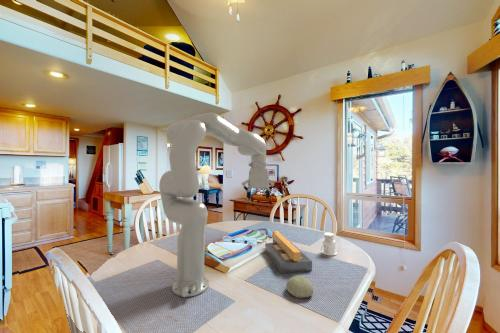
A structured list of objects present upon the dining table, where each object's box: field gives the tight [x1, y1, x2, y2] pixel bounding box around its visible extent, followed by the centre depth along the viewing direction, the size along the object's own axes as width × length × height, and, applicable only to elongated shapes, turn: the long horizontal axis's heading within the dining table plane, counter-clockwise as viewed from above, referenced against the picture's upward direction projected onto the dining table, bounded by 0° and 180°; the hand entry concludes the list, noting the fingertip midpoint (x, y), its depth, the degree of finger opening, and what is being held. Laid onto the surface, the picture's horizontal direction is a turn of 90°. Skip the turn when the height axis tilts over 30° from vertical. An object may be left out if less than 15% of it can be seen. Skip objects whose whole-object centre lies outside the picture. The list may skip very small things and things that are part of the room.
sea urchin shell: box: [285, 275, 314, 299], centre depth 78 cm, size 9×8×8 cm
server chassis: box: [264, 238, 313, 274], centre depth 107 cm, size 30×14×5 cm, turn 12°
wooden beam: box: [271, 230, 302, 261], centre depth 107 cm, size 30×4×4 cm, turn 12°
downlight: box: [320, 232, 339, 256], centre depth 114 cm, size 8×7×10 cm
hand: (258, 199), depth 113 cm, fingers open, 9 cm apart
